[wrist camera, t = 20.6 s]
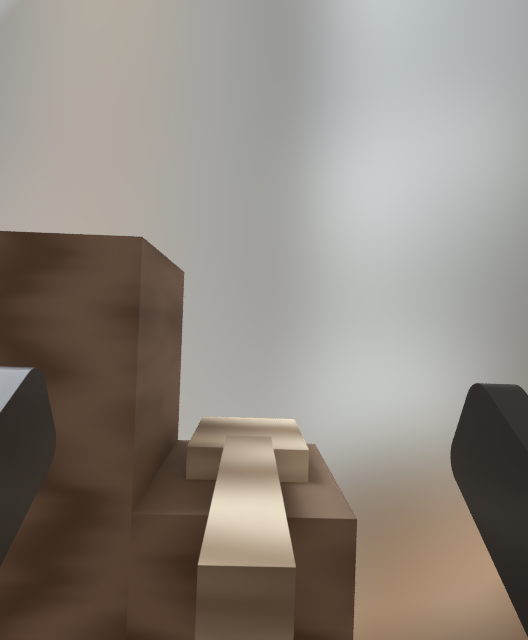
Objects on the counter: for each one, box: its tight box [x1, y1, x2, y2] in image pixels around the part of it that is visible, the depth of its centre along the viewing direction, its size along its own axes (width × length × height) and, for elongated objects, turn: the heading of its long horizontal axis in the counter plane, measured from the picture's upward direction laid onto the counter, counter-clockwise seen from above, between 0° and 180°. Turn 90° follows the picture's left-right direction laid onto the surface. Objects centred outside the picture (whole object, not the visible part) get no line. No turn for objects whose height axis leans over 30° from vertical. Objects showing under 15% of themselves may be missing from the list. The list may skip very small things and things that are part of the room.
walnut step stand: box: [0, 231, 357, 640], centre depth 25 cm, size 18×12×32 cm
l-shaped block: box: [186, 417, 309, 640], centre depth 21 cm, size 21×6×2 cm, turn 2°
